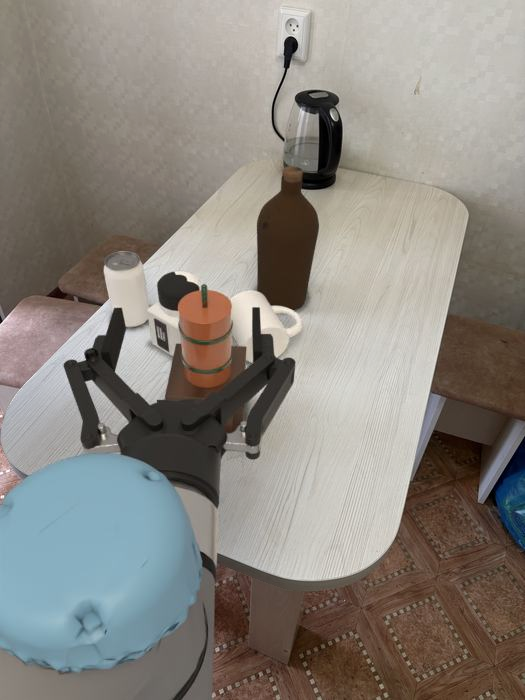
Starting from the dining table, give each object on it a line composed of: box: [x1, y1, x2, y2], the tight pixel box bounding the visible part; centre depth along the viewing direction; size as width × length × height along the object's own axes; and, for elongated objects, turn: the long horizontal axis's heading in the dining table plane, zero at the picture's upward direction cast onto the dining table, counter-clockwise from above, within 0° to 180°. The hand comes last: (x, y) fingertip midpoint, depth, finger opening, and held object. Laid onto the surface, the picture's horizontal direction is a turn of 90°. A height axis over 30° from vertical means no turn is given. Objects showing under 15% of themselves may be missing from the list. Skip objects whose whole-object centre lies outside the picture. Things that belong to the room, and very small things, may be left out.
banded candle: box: [178, 283, 233, 388], centre depth 63 cm, size 7×7×14 cm
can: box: [103, 250, 150, 329], centre depth 86 cm, size 6×6×12 cm
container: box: [147, 270, 201, 357], centre depth 82 cm, size 8×8×13 cm
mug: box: [229, 289, 304, 364], centre depth 84 cm, size 12×10×8 cm
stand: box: [164, 344, 247, 433], centre depth 71 cm, size 10×10×10 cm
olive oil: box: [256, 165, 320, 311], centre depth 88 cm, size 11×11×25 cm
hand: (188, 317), depth 51 cm, fingers open, 13 cm apart
